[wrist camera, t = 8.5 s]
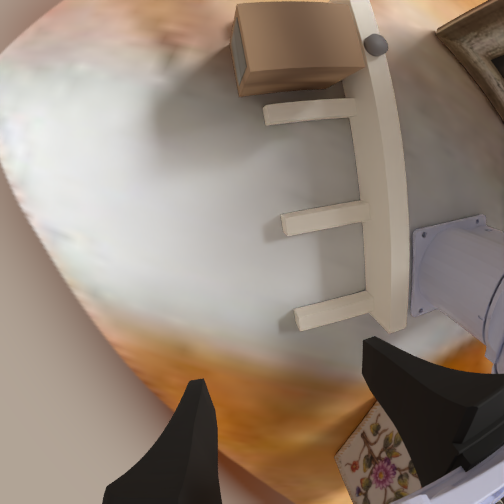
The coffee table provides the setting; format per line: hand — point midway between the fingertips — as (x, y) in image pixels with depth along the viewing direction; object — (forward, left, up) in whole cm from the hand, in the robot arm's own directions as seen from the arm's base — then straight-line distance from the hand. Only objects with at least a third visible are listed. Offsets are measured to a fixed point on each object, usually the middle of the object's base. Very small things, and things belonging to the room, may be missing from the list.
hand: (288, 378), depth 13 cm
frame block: (-4, -15, -10) cm, 19 cm away
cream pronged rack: (-6, -8, -10) cm, 14 cm away
